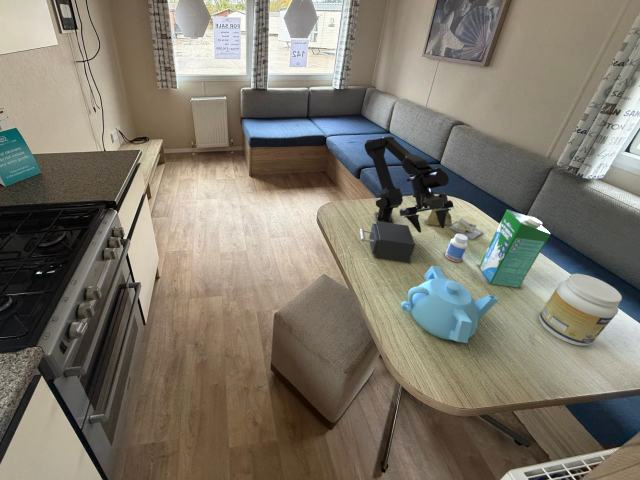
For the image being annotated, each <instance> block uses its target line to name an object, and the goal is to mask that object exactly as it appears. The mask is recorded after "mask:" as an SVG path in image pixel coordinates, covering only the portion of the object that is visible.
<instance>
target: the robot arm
mask: <svg viewBox="0 0 640 480" xmlns="http://www.w3.org/2000/svg"><path fill="white" fill-rule="evenodd" d="M364 150H365V152H366V155H367V156H368V157H369V158H370V159H371V160H372V162H373V165H374V168H375V171H376V174H377V177H378V181H379V184H380V187H381V192H380V199H377V200H375V206H376V207H377V209H378V212H375V217H376V221H379V222H386V223H393V219H392V214H393V212H394V211H393V210H394V209H397V208H399V207H400V206H401V205H402V203H403V201H404V198H403V197H404V195H403V193H402V190H401V188H400V187H398V188H397V187H396V186H395V185H394V182H393V179H392V176H391V173H390V170H389V167H388V164H387V161H386V158H385V154H386V150H387V151H388V152H390V153H391V154H392V155H393V156H394V157H395V158H396V159H397V160H398V161H400V163H401V167H402V169H403V170H404V172H405V173H407V174H408V175H409V176H408V178H407V179H406V182H407V183H411V187H412V191H413V194H412V198H414V199H415V205H414V206H410V207H404V208H400V209H399V215H400V217H403V218H404V219H407V220H408V221H409V222H410V223H411V225H412V226H413V227H414V228H415V229H416V231H417V232H418V234H419V233H420V234H421V233H422V227H421V224H420V221H419V217H420V214H418V213H420V212H426V211H432V209H437V211H435V213H436V215H437V218H438V221H439V224H440V225H439V227H440V228H441V229H442V230H443V229H445V219H446V215H447V213H448V211H449V212H450V211H452V209H453V208H455V204H454V202H453V201H452V200H451V199H450V200H449V199H448V195H447V193H444V192H443V193H439V194H438V195H435V192H434V191H433V190H432V189H436V188H441V187H445V186H447V185H448V184H449V182H450V181H449V180H450V179H449V178H450V177H449V175H448V174H447V173H446V172H445V171H444V170H443V168H442V167H436V168H433V167H432V166H431V165H430V164H429V163H428V162H427V160H426V159H424V158H423V157H421V156H420V155H417V154H413V153H411V152H410V151H409V149H406V148H405V147H404V146H403V145H402V144H401V143H400V142H398V141H397V140H396V139H395V137H394V136H391V135H390V136H382V137H380V138H373V139H367V140H366V141H365V143H364ZM431 190H432V191H431Z"/></svg>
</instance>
